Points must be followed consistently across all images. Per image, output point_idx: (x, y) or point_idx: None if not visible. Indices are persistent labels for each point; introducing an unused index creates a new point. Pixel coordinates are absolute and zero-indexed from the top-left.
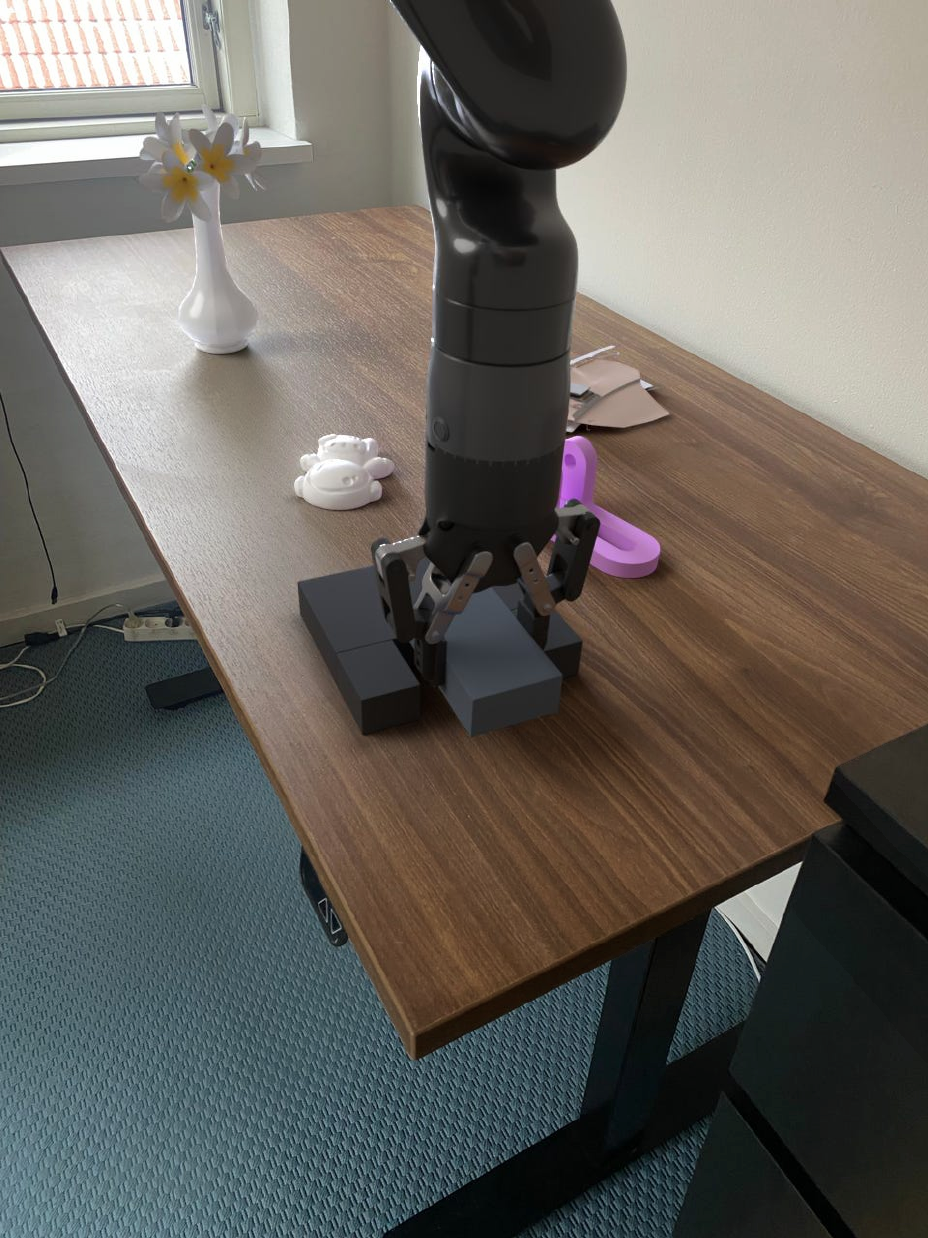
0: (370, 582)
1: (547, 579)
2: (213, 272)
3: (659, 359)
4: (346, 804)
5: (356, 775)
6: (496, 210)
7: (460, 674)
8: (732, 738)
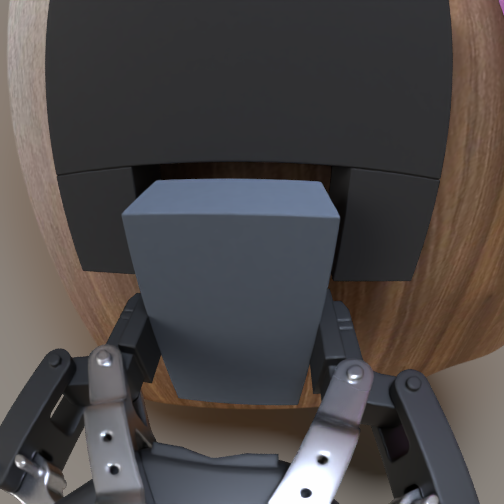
0: None
1: (375, 410)
2: None
3: None
4: (95, 301)
5: (101, 281)
6: None
7: (174, 374)
8: (420, 348)
